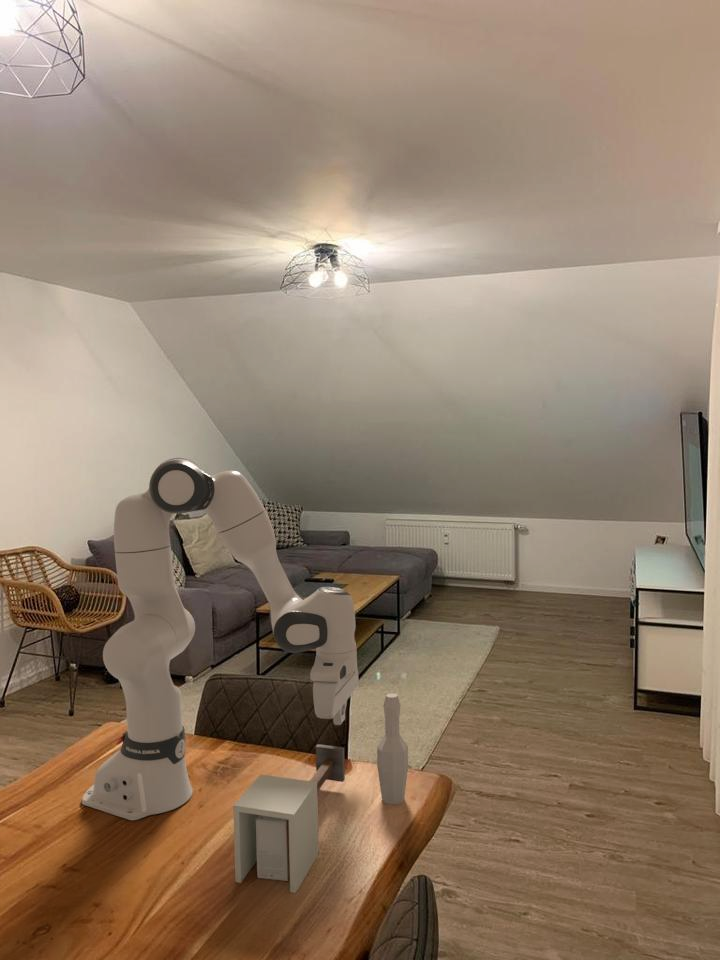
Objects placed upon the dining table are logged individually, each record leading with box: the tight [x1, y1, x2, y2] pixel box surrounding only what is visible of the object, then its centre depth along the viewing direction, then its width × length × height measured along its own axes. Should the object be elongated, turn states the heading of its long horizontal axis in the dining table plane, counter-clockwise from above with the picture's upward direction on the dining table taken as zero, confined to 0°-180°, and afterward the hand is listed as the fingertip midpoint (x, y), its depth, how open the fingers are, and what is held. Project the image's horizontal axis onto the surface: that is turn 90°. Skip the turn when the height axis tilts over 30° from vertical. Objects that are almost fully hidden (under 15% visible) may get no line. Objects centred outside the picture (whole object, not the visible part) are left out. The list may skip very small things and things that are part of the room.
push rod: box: [309, 743, 346, 793], centre depth 138 cm, size 6×24×7 cm, turn 164°
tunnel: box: [232, 774, 319, 894], centre depth 122 cm, size 11×11×14 cm
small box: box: [256, 815, 290, 882], centre depth 122 cm, size 8×6×10 cm
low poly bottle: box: [376, 693, 409, 806], centre depth 144 cm, size 6×6×22 cm
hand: (339, 722), depth 154 cm, fingers closed
